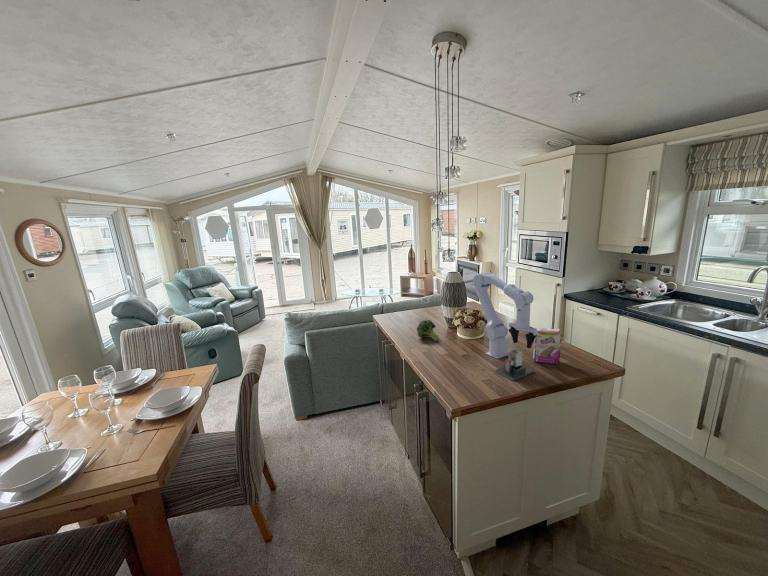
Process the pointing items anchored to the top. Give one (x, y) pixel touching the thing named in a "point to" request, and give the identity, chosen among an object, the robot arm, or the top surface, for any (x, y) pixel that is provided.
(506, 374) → the stand base
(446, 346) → the top surface
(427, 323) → the vegetable
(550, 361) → the candy bar box
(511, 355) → the layered white box
